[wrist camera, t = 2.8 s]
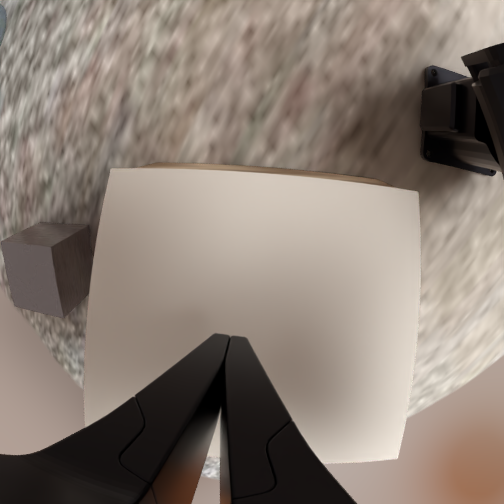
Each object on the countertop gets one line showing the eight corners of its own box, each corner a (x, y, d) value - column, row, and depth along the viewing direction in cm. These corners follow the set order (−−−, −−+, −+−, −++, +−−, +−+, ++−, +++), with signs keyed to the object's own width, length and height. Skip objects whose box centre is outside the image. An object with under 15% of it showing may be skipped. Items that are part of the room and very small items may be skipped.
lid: (413, 195, 14) (418, 191, 13) (393, 453, 12) (397, 458, 11) (116, 173, 14) (111, 168, 14) (90, 423, 12) (84, 427, 12)
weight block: (89, 224, 22) (50, 247, 17) (96, 286, 23) (63, 318, 19) (41, 221, 22) (0, 241, 17) (49, 279, 24) (14, 306, 19)
